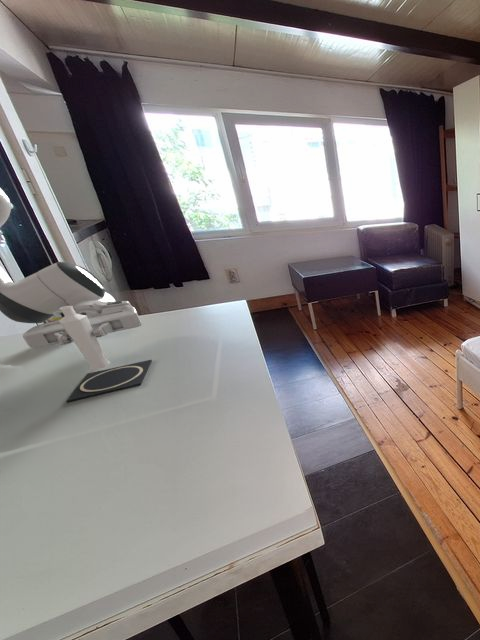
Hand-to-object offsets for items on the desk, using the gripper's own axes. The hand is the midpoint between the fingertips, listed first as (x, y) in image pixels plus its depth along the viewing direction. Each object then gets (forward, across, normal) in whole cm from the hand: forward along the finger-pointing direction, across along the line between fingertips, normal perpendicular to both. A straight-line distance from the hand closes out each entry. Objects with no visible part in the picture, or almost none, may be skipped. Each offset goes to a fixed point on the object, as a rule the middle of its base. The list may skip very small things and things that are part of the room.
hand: (81, 337), depth 83 cm
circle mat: (+1, +2, +11) cm, 11 cm away
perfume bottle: (-1, 0, +8) cm, 8 cm away
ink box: (-45, -13, +12) cm, 48 cm away
